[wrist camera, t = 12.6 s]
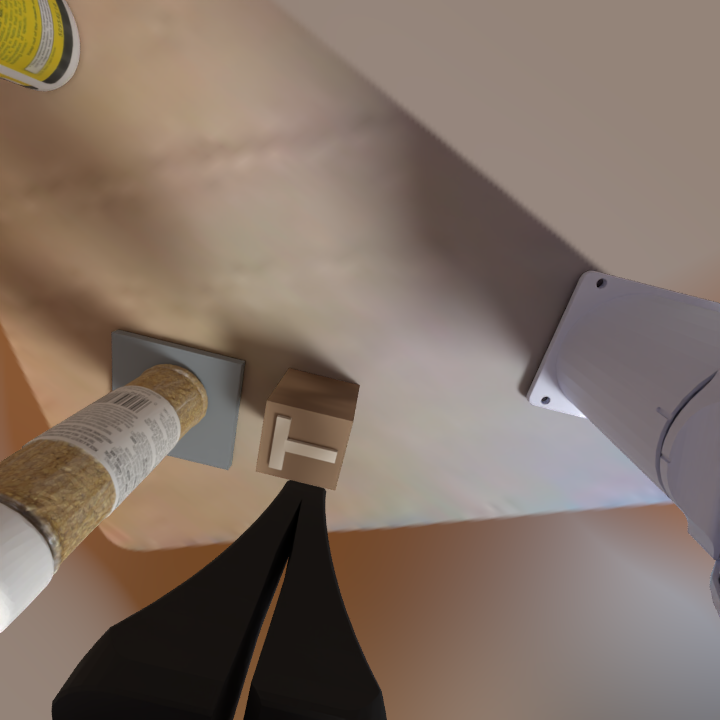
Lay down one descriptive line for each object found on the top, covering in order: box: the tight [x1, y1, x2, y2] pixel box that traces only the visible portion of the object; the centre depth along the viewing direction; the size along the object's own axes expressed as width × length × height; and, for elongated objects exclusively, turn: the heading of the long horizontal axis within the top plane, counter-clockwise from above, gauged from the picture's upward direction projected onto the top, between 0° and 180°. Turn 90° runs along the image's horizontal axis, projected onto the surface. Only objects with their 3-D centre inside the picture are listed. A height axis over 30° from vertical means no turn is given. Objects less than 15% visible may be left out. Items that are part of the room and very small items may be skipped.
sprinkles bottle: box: [0, 364, 208, 633], centre depth 17 cm, size 5×5×13 cm
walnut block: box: [256, 368, 360, 490], centre depth 21 cm, size 4×4×5 cm
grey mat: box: [112, 330, 245, 470], centre depth 24 cm, size 8×8×1 cm
